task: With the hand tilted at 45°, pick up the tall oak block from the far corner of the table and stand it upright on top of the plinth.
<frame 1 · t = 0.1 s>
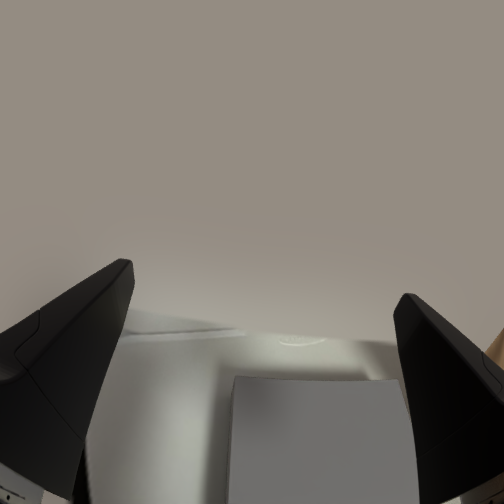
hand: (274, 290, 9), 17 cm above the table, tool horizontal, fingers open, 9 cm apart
oak block: (449, 430, 20), on the table
plinth: (320, 472, 18), on the table
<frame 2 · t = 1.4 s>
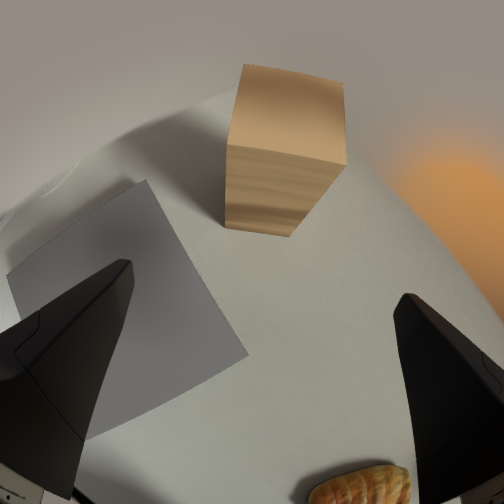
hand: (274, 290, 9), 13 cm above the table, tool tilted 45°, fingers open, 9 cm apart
oak block: (260, 202, 24), on the table
plinth: (119, 315, 21), on the table
pastry: (359, 491, 20), on the table
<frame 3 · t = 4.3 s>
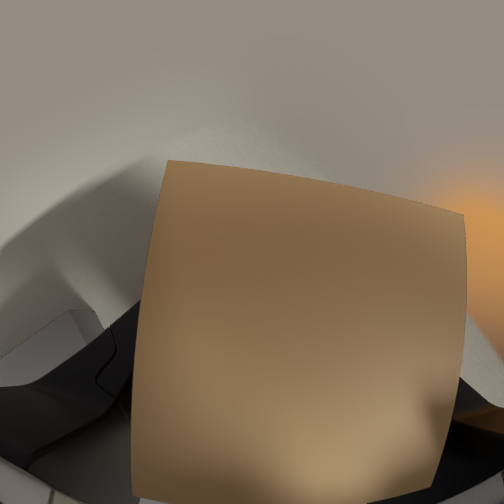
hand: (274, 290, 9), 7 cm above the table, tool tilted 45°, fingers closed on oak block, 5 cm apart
oak block: (250, 325, 15), on the table, touching gripper
plinth: (76, 458, 13), on the table
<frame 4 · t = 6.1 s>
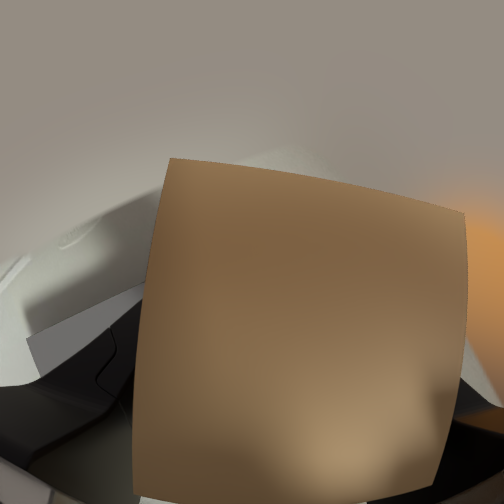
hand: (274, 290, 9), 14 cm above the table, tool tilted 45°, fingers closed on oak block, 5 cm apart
oak block: (251, 325, 15), point 7 cm above the table, touching gripper
plinth: (145, 389, 21), on the table
when the fingers open (11 cm above the table, at t = 7.9 s): oak block drops 1 cm, resting on plinth.
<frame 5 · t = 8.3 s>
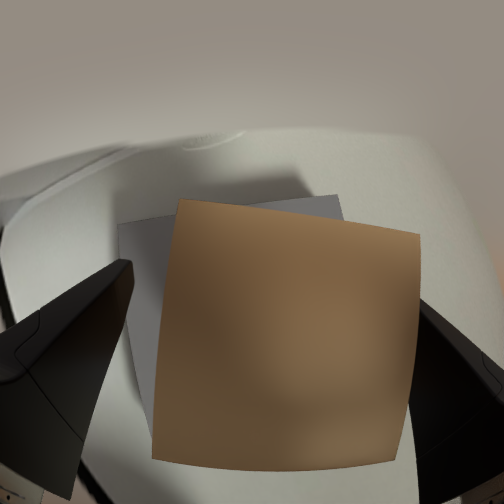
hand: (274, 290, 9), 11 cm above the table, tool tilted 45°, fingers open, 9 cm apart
oak block: (248, 324, 17), point 3 cm above the table, touching plinth
plinth: (245, 322, 20), on the table
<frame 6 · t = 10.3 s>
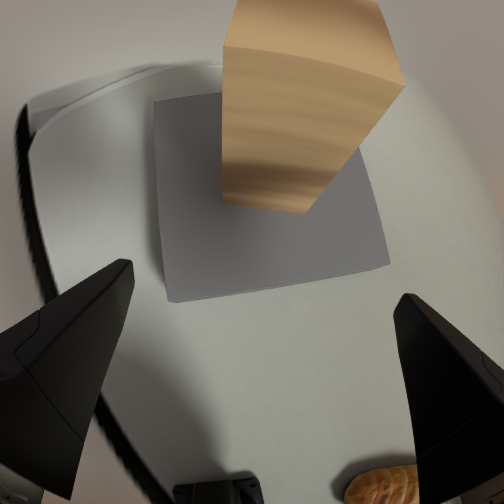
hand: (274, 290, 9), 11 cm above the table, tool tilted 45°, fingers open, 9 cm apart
oak block: (267, 172, 19), point 3 cm above the table, touching plinth
plinth: (261, 190, 22), on the table
pastry: (388, 491, 18), on the table
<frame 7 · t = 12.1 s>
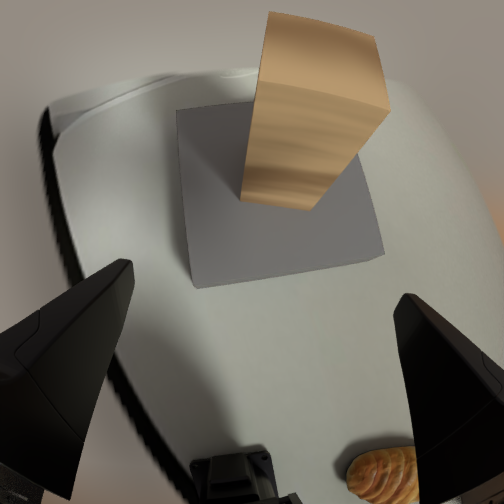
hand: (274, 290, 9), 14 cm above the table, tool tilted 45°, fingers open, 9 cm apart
oak block: (278, 174, 22), point 3 cm above the table, touching plinth
plinth: (272, 190, 25), on the table
pastry: (387, 472, 21), on the table
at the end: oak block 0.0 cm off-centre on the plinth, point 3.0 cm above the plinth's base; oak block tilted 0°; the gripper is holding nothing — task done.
